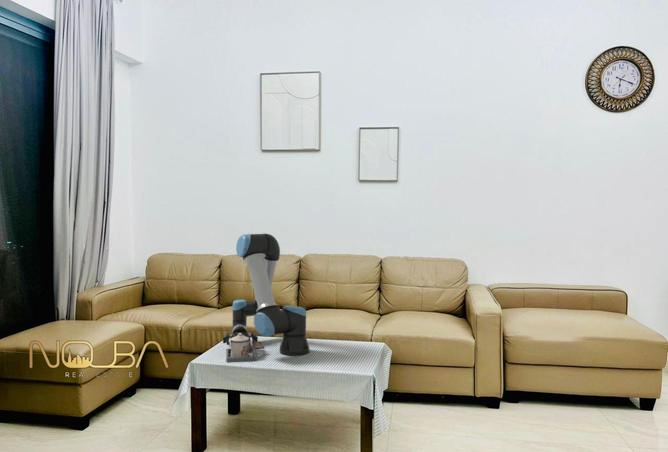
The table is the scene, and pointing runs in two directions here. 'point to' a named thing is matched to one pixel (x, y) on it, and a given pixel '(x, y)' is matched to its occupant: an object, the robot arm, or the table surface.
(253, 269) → the robot arm
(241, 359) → the holder tray
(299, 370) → the table surface
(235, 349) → the teacup with lid
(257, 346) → the walnut coaster
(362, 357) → the table surface
